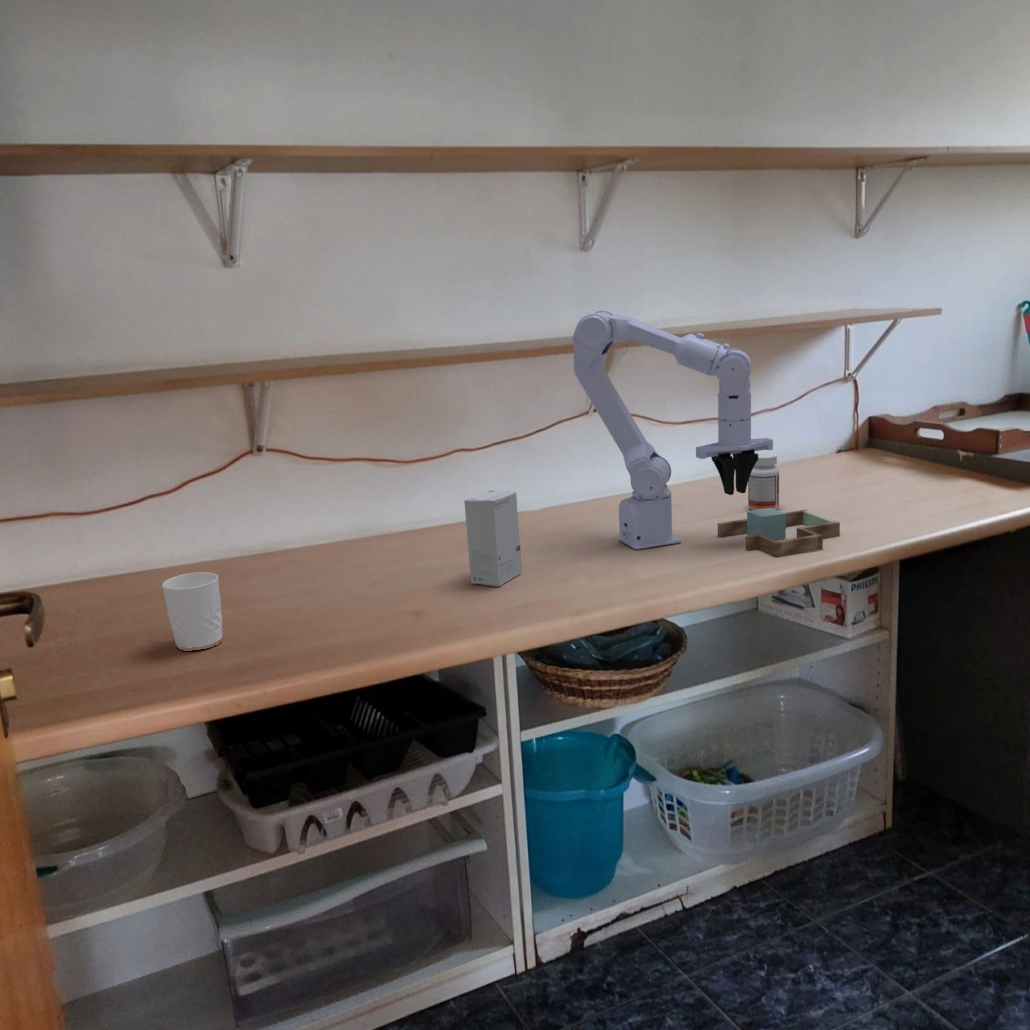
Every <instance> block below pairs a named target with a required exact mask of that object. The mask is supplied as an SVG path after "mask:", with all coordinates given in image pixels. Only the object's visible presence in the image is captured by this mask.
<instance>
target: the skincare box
mask: <svg viewBox="0 0 1030 1030" xmlns="http://www.w3.org/2000/svg"><path fill="white" fill-rule="evenodd" d="M517 497H518V496H517V491H512V490H509V491H508V490H488V491H485V492H482V493H478V494H475V495H473V496H471V497H468V498H466V499H464V500H463V501H464V511H465V514H464V515H465V523H466V534H467V535H466V536H467V548H468V561H469V573H470V575H469V576H470V583H471V584H474V585H477V584H478V585H483V586H489V587H496V588H499V587H501V586H503V584H506V583H507V582H509V581H511V580H512V579H513V578H515V577H517V576H520V575H522V572H523V568H522V553H521V541H520V540H521V539H520V527H519V526H520V525H519V524H520V523H519V514H518V502H517V501H518V500H517Z"/></svg>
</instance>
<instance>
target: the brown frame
mask: <svg viewBox="0 0 1030 1030" xmlns="http://www.w3.org/2000/svg"><path fill="white" fill-rule="evenodd" d="M804 511H808V510H807V509H802V510H801V509H800V510H793V511H789V512H785V513H786V527H794V526H799V525H800V526H799V527H796V537H794V538H787V539H785V540H779V541H776V540H774V539H772V538H770V537H767V536H765V535H763V534H755V535H748V536H747V535H745V550H746V551H749V552H750V551H755V550H760V551H762V552H764V553H766V554H768V555H770V556H773V557H775V558H778V557H784V556H789V555H790V556H791V555H794V554H796V555H797V554H801V553H802V554H803V553H807V552H812V551H814V552H815V551H818V550H819V551H821V550H823V549H824V547H823V545H824V539H828V538H834V537H840V534H841V533H840V532H841V522H839V521H836V520H835V521H836V522H830V523H823V524H817V525H811V526H807V525H804V524H803V512H804ZM801 525H804V526H801ZM743 534H747V518H743V519H736V520H730V521H723V522H718V523H717V537H719V538H724V537H725V538H726V537H731V536H736V535H743Z"/></svg>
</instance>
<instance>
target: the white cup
mask: <svg viewBox="0 0 1030 1030" xmlns="http://www.w3.org/2000/svg"><path fill="white" fill-rule="evenodd" d="M161 586H162V591H163V595H164V600H165V605H166V609H167V614H168V619H169V622H170V628H171V630H172V632H173V638H174V642H175V646H176V645H178V646H179V647H186V648H192V647H202V646H206V645H210V644H212V643H215V642H217V641H218V640H220V639H221V638H222V635H223V636H224V634H223V626H222V625H223V618H222V615H223V614H222V613H223V612H222V603H221V593H220V582H219V575H218V574H216V573H214V572H207V571H206V572H205V571H202V572H201V571H199V572H189V573H183V574H180V575H176V576H173V577H171V578H167V579H166V580H164V581H163V582H162V585H161Z"/></svg>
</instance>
